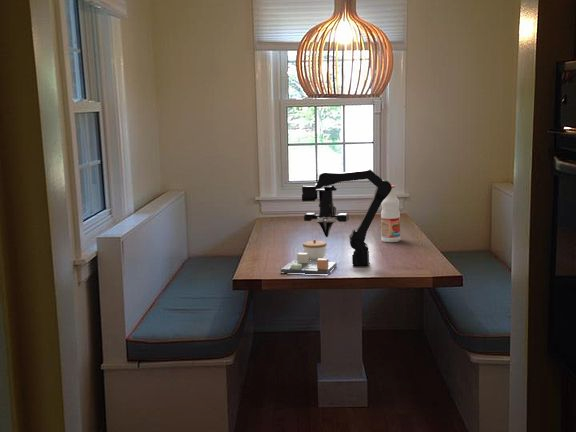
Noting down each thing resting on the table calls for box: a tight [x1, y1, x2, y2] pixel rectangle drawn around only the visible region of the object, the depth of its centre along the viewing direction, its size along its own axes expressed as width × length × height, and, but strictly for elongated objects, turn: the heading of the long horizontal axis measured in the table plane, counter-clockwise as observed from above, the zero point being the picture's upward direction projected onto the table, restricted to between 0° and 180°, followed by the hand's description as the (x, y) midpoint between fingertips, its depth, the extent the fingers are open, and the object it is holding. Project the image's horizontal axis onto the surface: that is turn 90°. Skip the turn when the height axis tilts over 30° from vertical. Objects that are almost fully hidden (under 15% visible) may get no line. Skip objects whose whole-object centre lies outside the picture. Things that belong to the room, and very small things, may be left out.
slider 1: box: [296, 252, 309, 263], centre depth 295 cm, size 4×3×4 cm
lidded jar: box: [302, 238, 327, 261], centre depth 309 cm, size 11×11×9 cm
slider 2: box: [317, 257, 329, 270], centre depth 283 cm, size 4×3×4 cm
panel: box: [280, 260, 338, 275], centre depth 291 cm, size 20×16×2 cm
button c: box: [291, 264, 302, 270], centre depth 287 cm, size 4×4×3 cm
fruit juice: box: [380, 184, 401, 243], centre depth 343 cm, size 9×9×28 cm
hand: (326, 236), depth 294 cm, fingers closed
